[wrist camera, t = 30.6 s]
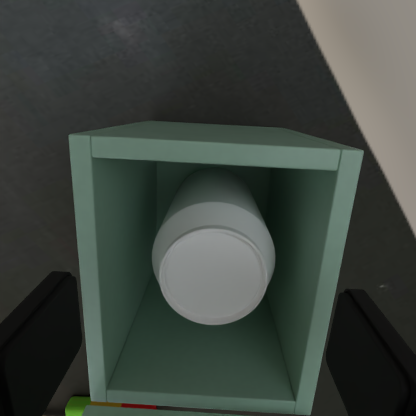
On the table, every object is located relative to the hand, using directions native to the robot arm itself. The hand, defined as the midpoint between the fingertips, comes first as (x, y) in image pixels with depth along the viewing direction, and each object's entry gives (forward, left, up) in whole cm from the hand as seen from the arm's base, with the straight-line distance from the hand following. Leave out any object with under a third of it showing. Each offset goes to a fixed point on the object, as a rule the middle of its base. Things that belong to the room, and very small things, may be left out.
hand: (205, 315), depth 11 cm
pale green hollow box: (0, 0, -16) cm, 16 cm away
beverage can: (0, 0, -15) cm, 15 cm away
